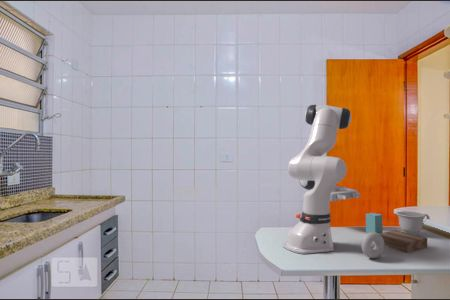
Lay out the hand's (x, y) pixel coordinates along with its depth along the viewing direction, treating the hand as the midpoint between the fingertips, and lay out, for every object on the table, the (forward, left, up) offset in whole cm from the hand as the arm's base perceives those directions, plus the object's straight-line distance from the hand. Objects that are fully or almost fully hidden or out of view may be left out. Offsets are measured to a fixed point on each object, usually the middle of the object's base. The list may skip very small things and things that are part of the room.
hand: (353, 196), depth 151 cm
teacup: (+22, -17, -18) cm, 33 cm away
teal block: (0, -12, -18) cm, 21 cm away
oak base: (0, -25, -18) cm, 31 cm away
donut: (-24, -30, -18) cm, 43 cm away
